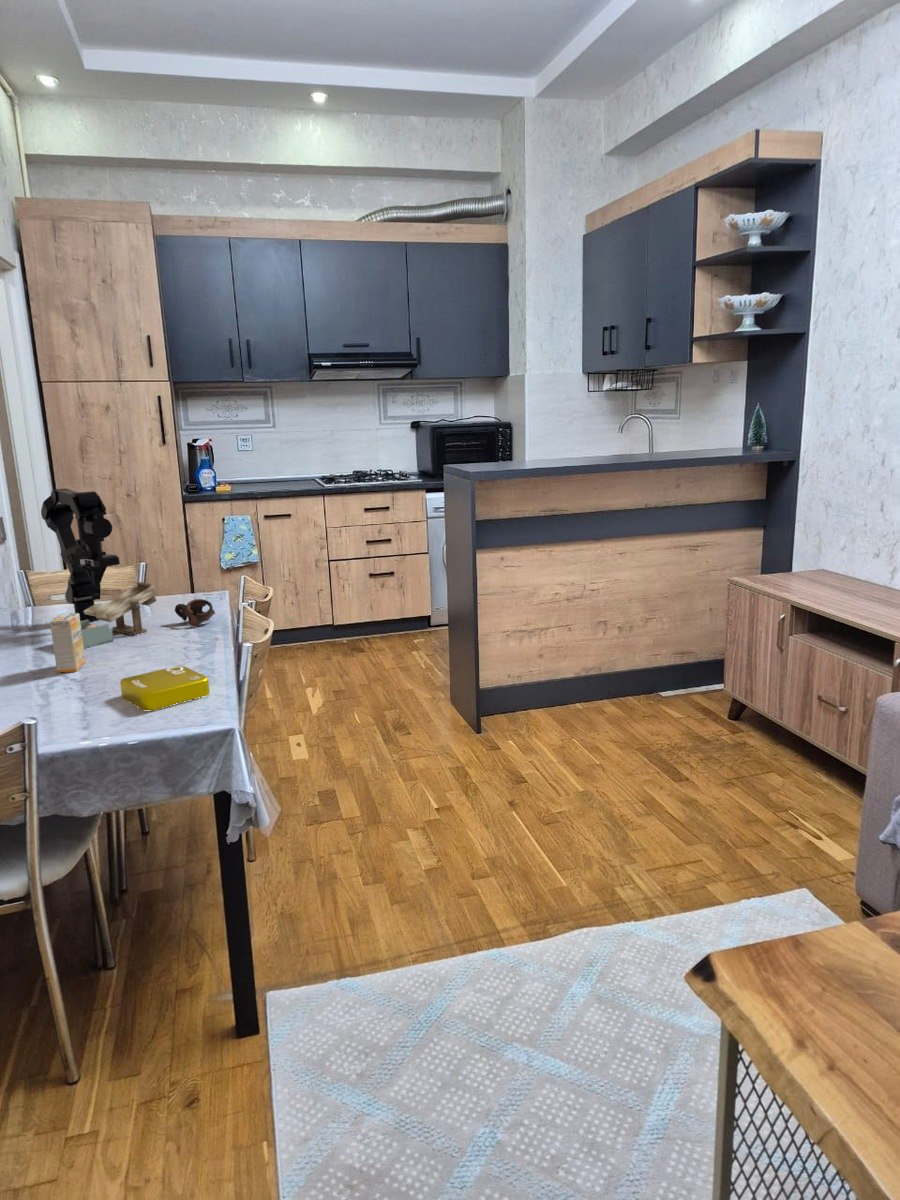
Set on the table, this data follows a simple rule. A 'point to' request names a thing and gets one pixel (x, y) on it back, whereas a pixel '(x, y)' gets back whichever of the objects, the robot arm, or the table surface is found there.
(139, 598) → the tipping lever
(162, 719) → the table surface
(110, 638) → the bin
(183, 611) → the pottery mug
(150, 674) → the element tile
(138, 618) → the lever stand
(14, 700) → the table surface
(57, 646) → the supplement box
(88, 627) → the ball
